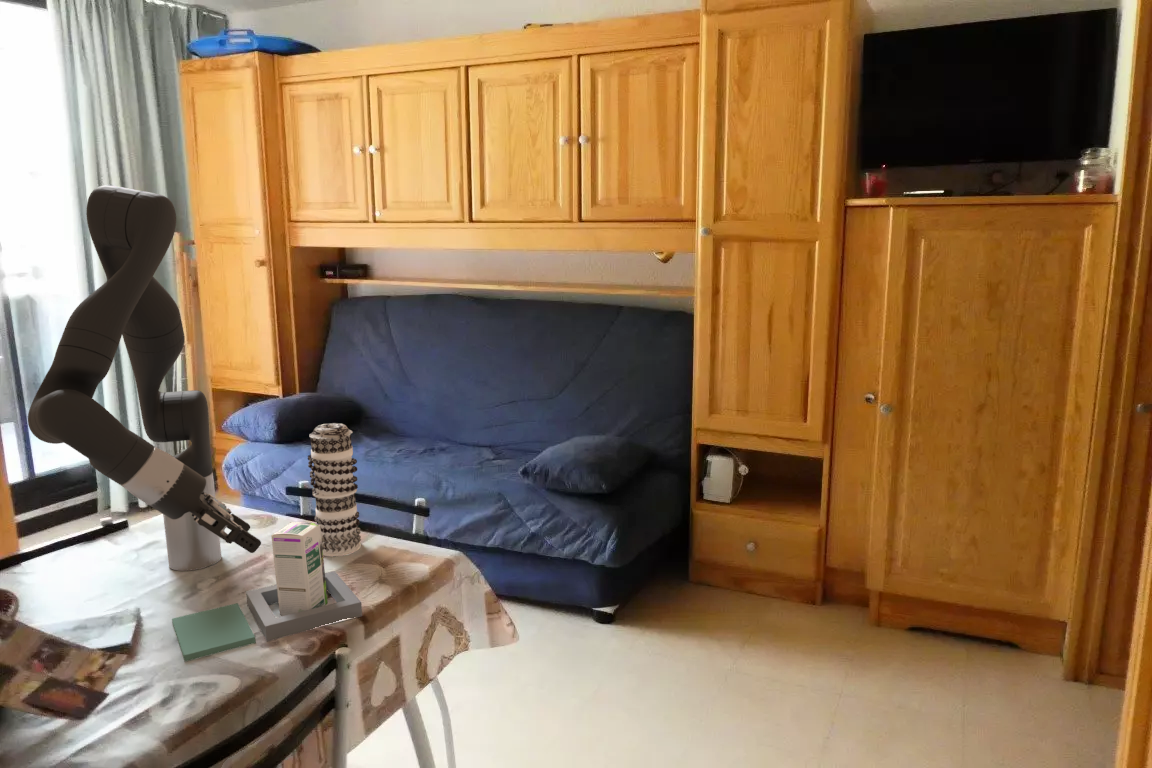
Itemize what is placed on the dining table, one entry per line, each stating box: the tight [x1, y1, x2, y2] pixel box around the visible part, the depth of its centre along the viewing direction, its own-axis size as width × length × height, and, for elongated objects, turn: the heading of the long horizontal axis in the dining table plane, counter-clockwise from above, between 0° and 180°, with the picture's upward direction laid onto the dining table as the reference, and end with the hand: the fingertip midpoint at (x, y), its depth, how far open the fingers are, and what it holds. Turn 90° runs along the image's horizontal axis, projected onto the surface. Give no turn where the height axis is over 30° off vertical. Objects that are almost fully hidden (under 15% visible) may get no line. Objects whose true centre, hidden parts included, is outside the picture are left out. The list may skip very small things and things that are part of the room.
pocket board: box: [245, 570, 363, 642], centre depth 137 cm, size 15×15×2 cm
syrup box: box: [271, 521, 329, 617], centre depth 136 cm, size 6×6×14 cm
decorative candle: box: [307, 422, 362, 557], centre depth 161 cm, size 9×9×25 cm
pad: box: [171, 602, 256, 662], centre depth 130 cm, size 14×10×1 cm
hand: (251, 539), depth 131 cm, fingers open, 8 cm apart
